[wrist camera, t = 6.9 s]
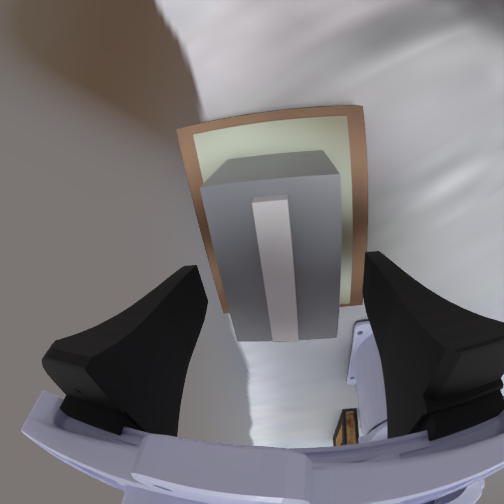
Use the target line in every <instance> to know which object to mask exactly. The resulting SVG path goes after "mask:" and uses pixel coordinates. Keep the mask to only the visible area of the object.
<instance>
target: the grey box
mask: <svg viewBox="0 0 504 504" xmlns="http://www.w3.org/2000/svg"><path fill="white" fill-rule="evenodd" d="M200 191H201V196H202V200H203V205H204V209H205V213H206V218H207V222H208V227H209V231H210V235H211V239H212V244H213V248H214V252H215V256H216V260H217V264H218V268H219V272H220V276H221V280H222V284H223V288H224V292H225V296H226V300H227V304H228V307H229V311H230V315H231V319H232V323H233V326H234V330H235V334H236V337H237V341H273V342H287V341H298V340H308V339H324V338H337V329H338V316H339V301H340V281H341V243H342V219H341V181H340V173H339V172H338V170H337V169H336V167H335V166H334V165H333V163H332V162H331V161H330V159H329V158H328V156H327V155H326V154H325V152H324V151H323V150H316V151H301V152H289V153H278V154H268V155H259V156H250V157H242V158H235V159H228V160H226V161H225V162H224V163H223V164H222V165H221V166H220V167H219V168H218V169H217V170H216V171H215V172H214V173H213V174H212V175H211V176H210V177H209V178H208V179H207V181H206V182H205V183H204V184H203V185H202V186H201V187H200Z"/></svg>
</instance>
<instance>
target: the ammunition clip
mask: <svg viewBox="0 0 504 504" xmlns="http://www.w3.org/2000/svg"><path fill="white" fill-rule="evenodd" d="M358 438H359V432H358V419H357V408H356V409H345V410H342V413H341V416H340V419H339V422H338V425H337V428H336V431H335V434H334V437H333V445H334V446H343V445H352V444H359V442H358Z"/></svg>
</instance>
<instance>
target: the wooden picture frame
mask: <svg viewBox="0 0 504 504" xmlns="http://www.w3.org/2000/svg"><path fill="white" fill-rule="evenodd" d="M176 131H177V135H178V140H179V144H180V149H181V153H182V158H183V162H184V166H185V170H186V175H187V179H188V183H189V188H190V192H191V196H192V200H193V204H194V208H195V212H196V216H197V219H198V223H199V227H200V231H201V235H202V239H203V242H204V246H205V250H206V253H207V257H208V261H209V264H210V268H211V271H212V275H213V278H214V282H215V285H216V289H217V292H218V296H219V299H220V302H221V305H222V309H223V312H224V313H230V311H229V307H228V304H227V300H226V296H225V292H224V288H223V284H222V280H221V276H220V272H219V268H218V264H217V260H216V256H215V252H214V248H213V244H212V239H211V235H210V231H209V227H208V222H207V218H206V213H205V209H204V205H203V200H202V196H201V191H200V187H201V186H202V185H203V184H204V183H205V182H206V181H207V179H208V178H209V177H210V176H211V175H212V174H213V173H214V172H215V171H216V170H217V169H218V168H219V167H220V166H221V165H222V164H223V163H224V162H225V161H226V160H228V159H235V158H242V157H250V156H259V155H268V154H278V153H289V152H301V151H316V150H323V151H324V152H325V154H326V155H327V156H328V158H329V159H330V161H331V162H332V163H333V165H334V166H335V167H336V169H337V170H338V172H339V173H340V181H341V219H342V243H341V281H340V301H339V307H344V306H354V305H362V303H363V293H362V289H363V277H364V262H365V252H367V232H368V172H367V150H366V135H365V123H364V112H363V106H359V105H342V106H321V107H306V108H295V109H285V110H276V111H268V112H261V113H254V114H247V115H241V116H235V117H229V118H224V119H218V120H213V121H208V122H204V123H199V124H194V125H190V126H187V127H183V128H179V129H177V130H176Z"/></svg>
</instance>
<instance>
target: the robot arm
mask: <svg viewBox="0 0 504 504" xmlns="http://www.w3.org/2000/svg"><path fill="white" fill-rule="evenodd" d="M362 293H363V298H364V303H365V308H366V313H367V316H368V319H369V321H363V322H358V323H356V324H355V326H354V334H353V342H352V349H351V356H350V363H349V369H348V375H347V385H356V388H357V396H358V404H359V413H360V422H361V429H362V432H363V435H364V436H362V437H359V438H358V442H359V444H352V445H343V446H333V447H319V448H294V449H286V448H275V447H265V446H246V445H233V444H222V443H213V442H205V441H198V440H191V439H185V438H180V437H177V432H178V421H179V413H180V405H181V399H182V393H183V387H184V383H185V378H186V373H187V369H188V365H189V362H190V359H191V356H192V353H193V350H194V348H195V345H196V342H197V339H198V337H199V334H200V331H201V328H202V325H203V322H204V319H205V314H206V310H207V304H208V299H207V296H206V293H205V290H204V287H203V284H202V281H201V277H200V274H199V271H198V268H197V265H192V266H184V267H182V268H180V269H179V270H178V271H176V272H175V273H174V274H173V275H171V276H170V277H169V278H167V279H166V280H165V281H164V282H162V283H161V284H160V285H159V286H158V287H156V288H155V289H154V290H152V291H151V292H150V293H148V294H147V295H146V296H144V297H143V298H142V299H140V300H139V301H138V302H136V303H135V304H134V305H132V306H131V307H129V308H128V309H126V310H125V311H123V312H121V313H120V314H118V315H117V316H115V317H113V318H111V319H109V320H107V321H105V322H103V323H101V324H99V325H97V326H95V327H93V328H90V329H88V330H86V331H83V332H81V333H78V334H75V335H72V336H69V337H66V338H63V339H60V340H56V341H55V342H54V343H53V344H52V345H51V347H50V348H49V350H48V351H47V353H46V354H45V356H44V357H43V358H42V364H43V368H44V369H45V371H46V372H47V374H48V375H49V376H50V377H51V379H52V380H53V381H54V382H55V383H56V384H57V385H58V386H59V388H60V389H61V390H62V391H63V392H64V393H65V394H66V397H65V399H64V400H63V399H62V398H60V397H59V396H57V395H54V394H52V393H50V392H47V391H45V390H43V391H42V393H41V395H40V396H39V398H38V400H37V401H36V403H35V405H34V407H33V408H32V411H31V412H30V414H29V416H28V418H27V419H26V421H25V423H24V425H23V427H22V429H21V431H22V432H23V433H24V434H25V435H26V436H28V437H29V438H30V439H31V440H33V441H34V442H35V443H37V444H38V445H39V446H41V447H42V448H44V449H45V450H47V451H48V452H49V453H51V454H52V455H54V456H55V457H57V458H58V459H60V460H62V461H63V462H65V463H67V464H69V465H71V466H73V467H74V468H76V469H78V470H80V471H82V472H84V473H86V474H87V475H89V476H91V477H94V478H96V479H98V480H100V481H102V482H104V483H106V484H108V485H111V486H113V487H116V488H118V489H120V490H123V491H125V494H124V497H123V500H122V503H121V504H475V503H476V501H477V500H478V499H479V498H480V496H481V494H482V489H483V488H484V486H485V482H484V478H485V477H487V476H489V475H491V474H493V473H495V472H497V471H498V470H500V469H502V468H504V396H502V393H501V391H500V390H501V389H502V388H503V382H502V380H501V377H502V375H503V374H504V322H500V321H497V320H493V319H490V318H486V317H484V316H481V315H478V314H476V313H473V312H471V311H468V310H466V309H464V308H461V307H459V306H457V305H455V304H453V303H451V302H449V301H447V300H446V299H444V298H442V297H440V296H439V295H437V294H435V293H434V292H432V291H431V290H429V289H427V288H426V287H424V286H423V285H422V284H420V283H419V282H417V281H416V280H415V279H413V278H412V277H411V276H409V275H408V274H407V273H406V272H404V271H403V270H402V269H401V268H399V267H398V266H397V265H396V264H394V263H393V262H392V261H391V260H390V259H388V258H387V257H386V256H385V255H383V254H382V253H381V252H379V251H375V252H365V262H364V277H363V289H362ZM359 331H360V332H359Z"/></svg>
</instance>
